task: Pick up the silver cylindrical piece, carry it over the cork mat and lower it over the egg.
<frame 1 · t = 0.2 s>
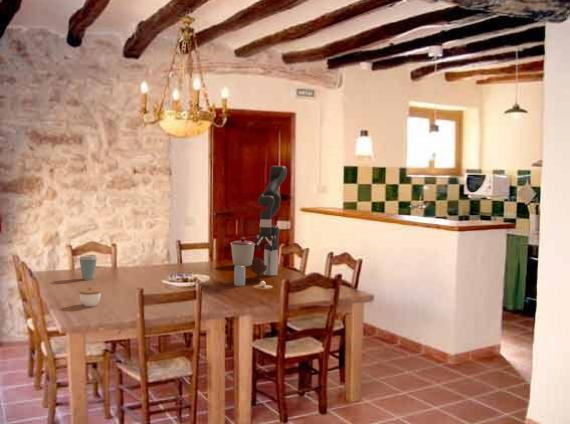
hand: (264, 251, 391), 18 cm above the table, tool pointing down, fingers open, 8 cm apart
lidded jar: (90, 305, 310), on the table
egg: (262, 286, 363), point 1 cm above the table, touching cork mat
silver cylindrical piece: (239, 285, 368), on the table
ice cream bowl: (258, 280, 385), on the table
canister: (242, 266, 436), on the table
disposable coffee cup: (88, 279, 377), on the table
cork mat: (262, 287, 363), on the table
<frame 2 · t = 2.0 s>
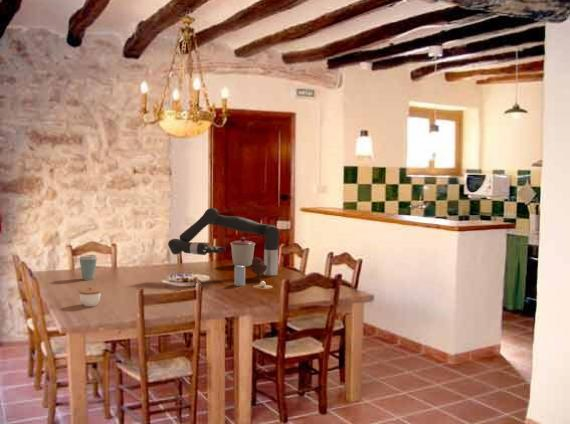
hand: (222, 250, 371), 21 cm above the table, tool horizontal, fingers open, 8 cm apart
nothing on the table moved.
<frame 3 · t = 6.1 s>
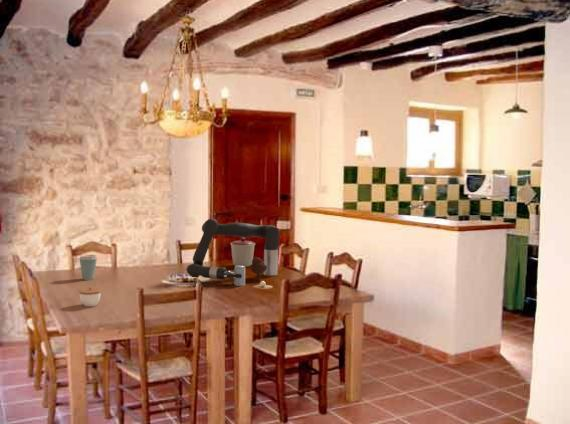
hand: (243, 275, 366), 7 cm above the table, tool horizontal, fingers closed on silver cylindrical piece, 6 cm apart
silver cylindrical piece: (239, 285, 368), on the table, touching gripper
everything else where it was.
when the fingers open (9 cm above the table, at t = 11.6 s): silver cylindrical piece drops 1 cm, resting on cork mat.
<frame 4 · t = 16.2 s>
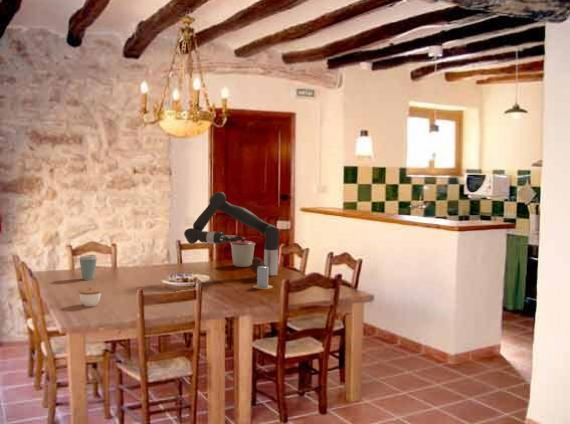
hand: (239, 239, 370), 28 cm above the table, tool horizontal, fingers open, 8 cm apart
silver cylindrical piece: (262, 286, 363), point 1 cm above the table, touching cork mat
everything else where it was.
at the end: silver cylindrical piece 0.1 cm from the egg (horizontally); silver cylindrical piece tilted 0°; silver cylindrical piece point 0.6 cm above the table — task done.
